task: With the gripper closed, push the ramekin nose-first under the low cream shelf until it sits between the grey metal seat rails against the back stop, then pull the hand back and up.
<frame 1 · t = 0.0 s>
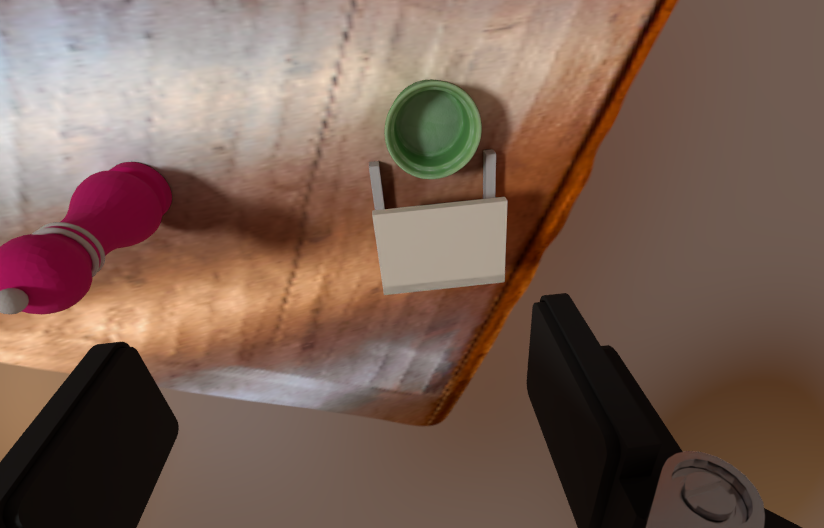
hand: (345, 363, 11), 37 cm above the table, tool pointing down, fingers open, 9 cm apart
pepper mill: (141, 189, 46), on the table
ramekin: (428, 120, 44), on the table
overhang shelf: (434, 211, 49), on the table
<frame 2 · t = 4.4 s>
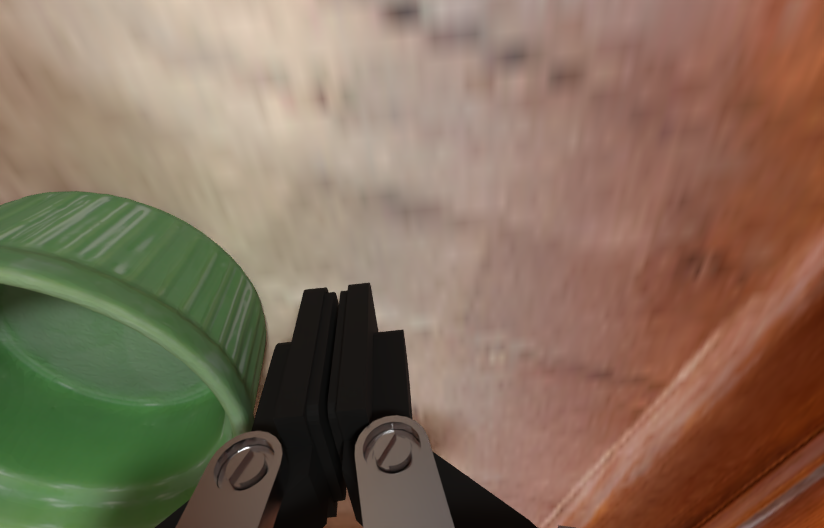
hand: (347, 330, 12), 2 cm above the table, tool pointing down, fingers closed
ramekin: (134, 307, 13), on the table, touching gripper
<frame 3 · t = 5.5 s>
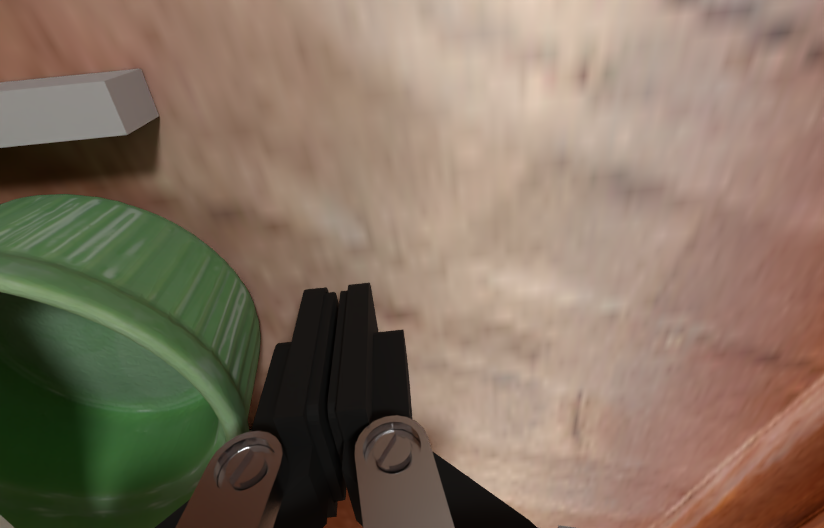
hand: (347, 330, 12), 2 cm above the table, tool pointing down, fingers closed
ramekin: (126, 312, 13), on the table, touching gripper
overhang shelf: (9, 331, 13), on the table
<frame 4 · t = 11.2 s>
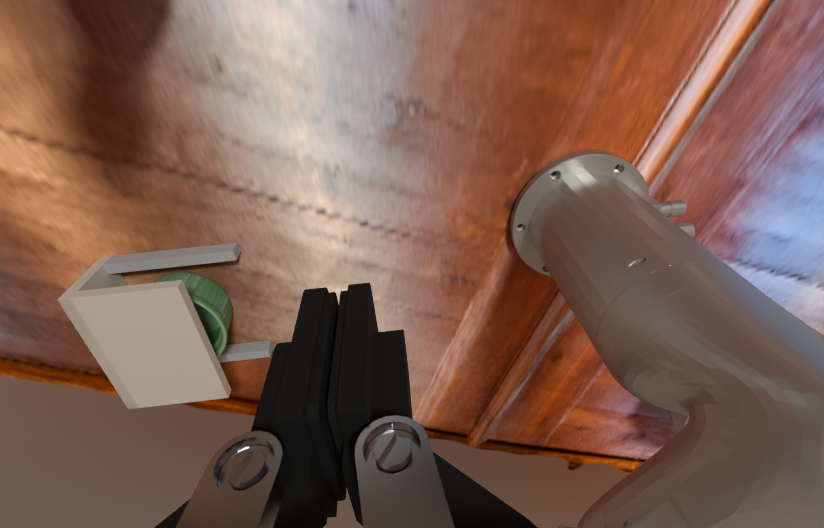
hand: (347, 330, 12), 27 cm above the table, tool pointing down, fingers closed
ramekin: (192, 303, 44), on the table
overhang shelf: (191, 306, 44), on the table
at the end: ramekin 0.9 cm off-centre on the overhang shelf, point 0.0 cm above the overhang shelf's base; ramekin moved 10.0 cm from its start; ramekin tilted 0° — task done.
